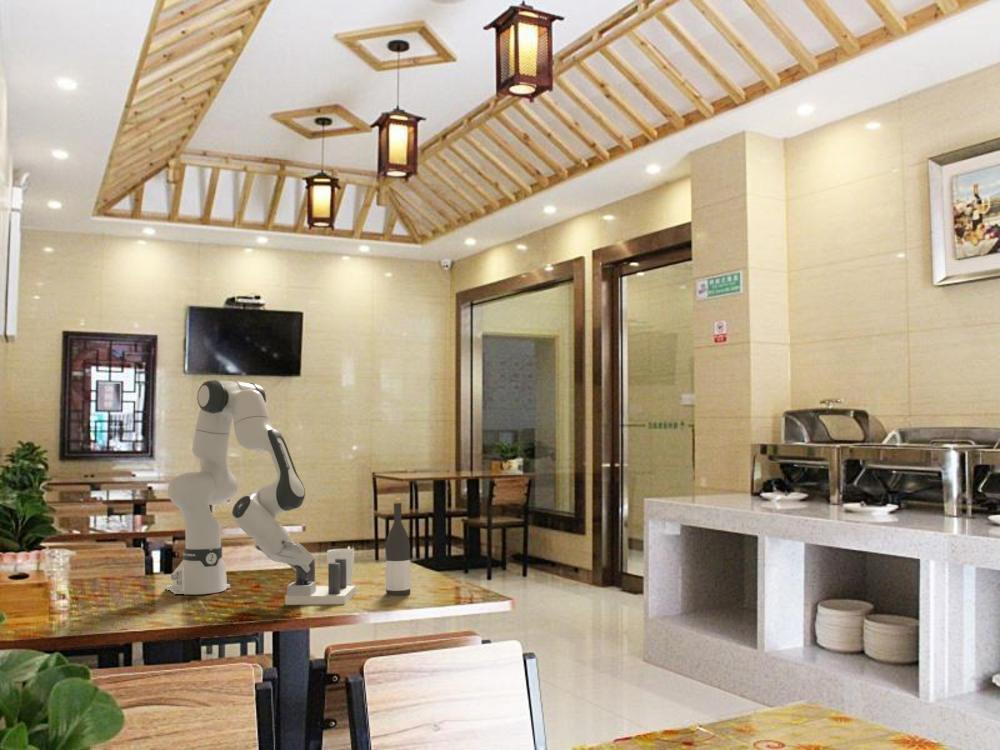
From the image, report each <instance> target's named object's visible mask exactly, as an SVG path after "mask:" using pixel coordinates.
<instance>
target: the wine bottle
mask: <svg viewBox="0 0 1000 750" xmlns="http://www.w3.org/2000/svg"><path fill="white" fill-rule="evenodd" d="M401 500H402V499H401V497H399V498H397V497H396V498H394V503H393V523H392V526H391V528H390V530H389V532H388V536H387V538H386V543H385V592H386V595H387V596H405V595H406V596H408V595H409V594H411V544H410V539H409V536H408V533H407V531H406V528H405V527H404V525H403V522H402V505H403V504H402V502H401Z"/></svg>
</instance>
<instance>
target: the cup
mask: <svg viewBox="0 0 1000 750" xmlns="http://www.w3.org/2000/svg"><path fill="white" fill-rule="evenodd" d="M354 551H355V550H354V548H333V549H328V550H327V552H326V553H327V554H326V564H327V565H326V566H328V564H329V563H335V559H338V558H346V586H352V585H351V584H352V580H353V579H352V578H353V570H354V562H355V555H354V553H355V552H354Z"/></svg>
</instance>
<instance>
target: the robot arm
mask: <svg viewBox="0 0 1000 750" xmlns="http://www.w3.org/2000/svg"><path fill="white" fill-rule="evenodd" d="M196 397H197V398H196V399H197V404H198V406H199V408H200V409H199V413H198V416H197V420H196V425H195V429H194V430H195V432H194V436H193V437H194V438H193V443H192V448H191V449H192V454H193V455H194V457H196V458H197V459H198V460H199V463H200V470H199V471H193V472H191V471H190V472H184V473H181V474H179V475H177V476H176V475H175V476H174V477H173V478H172V479H171V480H170V481H169V484H168V486H167V494H168V498H169V499H170V502H171V503H172V504H174V505H175V506H176V507H177V508H178V509H179V512H180V513H181V515H182V519H183V522H184V528H185V532H184V533H185V536H184V537H185V547H184V549H183V550H182V551H183V552H182V561H181V562H180V564H179V565H178V566H177V567H176V568H175V569H174V571H173V572H172V573H171V574H170V578H171V580H172V584H169V585H168V584H167V585H165V588H167V589H168V590H170V591H171V592H173V593H174V594H173V593H172V594H173V595H175V594H184V595H207V594H216V593H221V592H224V591H226V590H227V589H230V588H231V584H230V583H227V582H228V580H227V579H228V578H227V568H226V563H225V562H224V561H223V560H222V558H223V552H224V551H223V547H222V544H221V543H222V524H221V522H220V521H219V519H217V518H215V517H214V515H213V514H212V511H211V507H210V505H216V504H222V503H226V502H227V501H230V500H233V498H234V497H236V495H237V492H238V481H237V479H236V477H235V475H234V474H232V472H231V469H230V466H229V461H228V453H229V452H228V451H229V446H230V445H229V444H230V443H229V442H230V437H231V433H232V432H231V430H232V423H233V427H234V433H235V437H236V440H237V442H238V444H239V445H240V446H241V447H243V448H245V449H247V450H250V451H255V452H268V453H269V455H270V456H271V460H272V462H273V465H274V468H275V472H276V473H277V478H276V479H275V480H274V481H272V482H270V483H269V484H267V485H263V486H261V487H259V488H257V489H254V490H253V491H251V492H249V494H248V495H245V496H242V497H241V498H239V499H238V500H237V501H236V503H234V506H233V508H232V509H231V511H232V512H231V513H232V514H231V515H232V517H233V519H234V521H235V522H236V524H237V525H238V526H239V528H240V529H241V530H242V531H243V532H244V533H245V534H246V535H247V536H249V537H250V538H252V539H253V541H254V542H255V543H254V548H255V549H257V551H260V552H262V554H264V555H265V556H266V557H268V559H270V560H271V561H274V563H275V562H276V563H283V564H287V565H288V566H290V568H293V570H294V571H296V565H298V566H301V568H302V570H303V571H304V572H309V570H310V567H309V564H310V563H311V562H312V560H313V559H315V558H314V556H313V554H312V553H311V552H309V551H308V549H306V548H305V547H304V545H302V544H300V542H296V541H292V540H290V539H291V534H290V532H289V531H287V529H286V528H285V527H284V526H283V525H282V524H281V523H280V522H279V521H277V520H276V517H277V516H278V515H281V514H283V513H286V512H289V511H292V510H295V509H298V508H300V507H301V506H302V505H303V503H304V500H305V496H306V489H305V486H304V484H303V482H302V480H301V479H300V477H299V475H298V473H297V470H296V467H295V464H294V462H293V458H292V457H291V454H290V453H291V452H290V450H289V448H288V445H287V443H286V441H285V438H284V436H283V435H282V433H281V432H280V431H279V430H277V429H275V428H274V427H273V425H272V422H271V418H270V414H269V411H268V407H267V404H266V400H267V396H266V393H265V390H264V388H263V387H262V386H261V385H259V384H256V383H252V382H245V381H240V380H217V379H213V380H212V379H211V380H207V381H204V382H203V383H202V384H201V385H200V386H199V389H198V391H197V396H196ZM168 590H167V591H168ZM170 591H169V592H170ZM171 592H170V593H171Z"/></svg>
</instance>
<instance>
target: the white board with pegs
mask: <svg viewBox="0 0 1000 750" xmlns="http://www.w3.org/2000/svg"><path fill="white" fill-rule="evenodd" d="M315 566H316V559H315V558H314V559H313V560H312V562H311V563H310V564H309V567H310V570H309V572H308V585H296V581H292V582H291V583H289V584H288V585H286V595H284V604H285V605H286V606H288V605H289V606H294V605H295V606H296V605H297V606H298V605H301V606H302V605H303V606H304V605H306V606H308V605H346V604H347V603H348V601H350V600H351V599H352V598H353V597H354V596H355V595H356V593H357V586H356V585H351V586H346V558H338V559H335V563H329V564H328V565H327V571H328V573H327V574H328V575H327V576H328V577H327V579H328V585H317V583H316V567H315Z"/></svg>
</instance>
